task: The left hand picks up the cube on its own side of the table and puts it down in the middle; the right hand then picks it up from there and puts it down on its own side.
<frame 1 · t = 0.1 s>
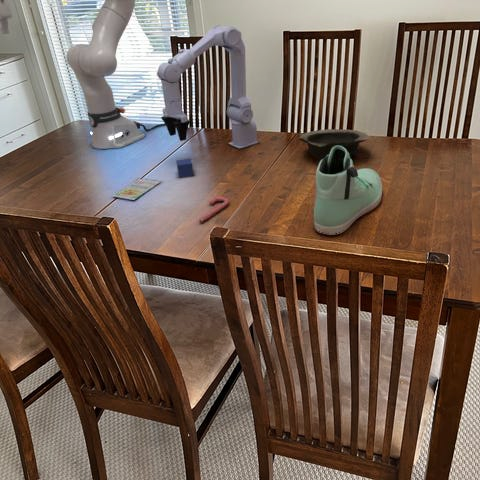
left hand: (0, 33, 160), 48 cm above the table, tool pointing down, fingers open, 8 cm apart
right hand: (177, 137, 172), 10 cm above the table, tool pointing down, fingers open, 7 cm apart
cube: (185, 174, 169), on the table
baking ingredient package: (137, 190, 160), on the table
candy cane: (212, 211, 143), on the table
stone bowl: (332, 155, 174), on the table
sneaker: (348, 208, 139), on the table
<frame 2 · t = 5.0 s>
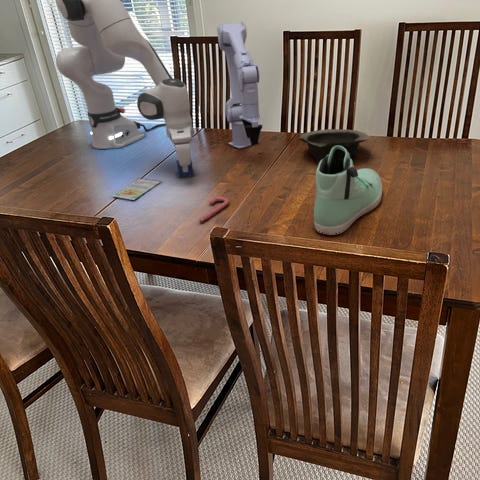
left hand: (184, 168, 168), 2 cm above the table, tool pointing down, fingers closed on cube, 5 cm apart
right hand: (252, 140, 171), 8 cm above the table, tool pointing down, fingers open, 7 cm apart
cube: (185, 174, 169), on the table, touching left hand
everything else where it was.
when the left hand's fingers open (3 cm above the table, at t = 8.3 s): cube stays where it is, on the table.
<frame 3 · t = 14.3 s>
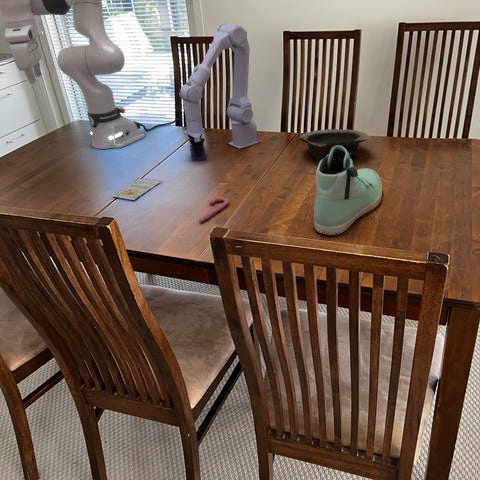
left hand: (35, 79, 148), 36 cm above the table, tool pointing down, fingers open, 8 cm apart
right hand: (198, 154, 180), 2 cm above the table, tool pointing down, fingers closed on cube, 5 cm apart
cube: (198, 158, 181), on the table, touching right hand
everything else where it was.
when the right hand's fingers open (2 cm above the table, at t = 18.5 s): cube stays where it is, on the table.
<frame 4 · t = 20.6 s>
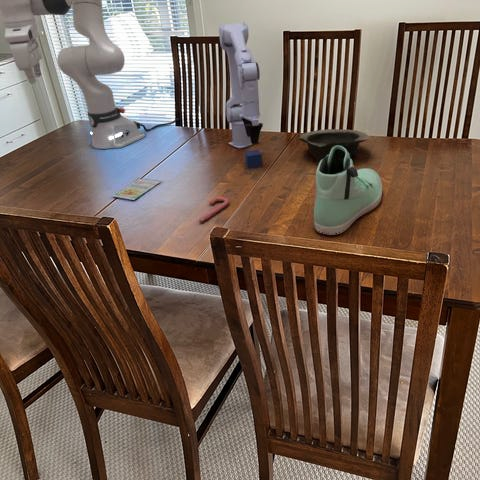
left hand: (35, 79, 148), 36 cm above the table, tool pointing down, fingers open, 8 cm apart
right hand: (252, 139, 167), 9 cm above the table, tool pointing down, fingers open, 7 cm apart
cube: (253, 165, 172), on the table
everything else where it was.
at the end: cube inside the target area (0.1 cm from its centre), on the table; cube tilted 0°; the two hands never held the cube at the same time; the left hand is holding nothing; the right hand is holding nothing; cube at rest at the end (0.0 cm/s) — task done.
